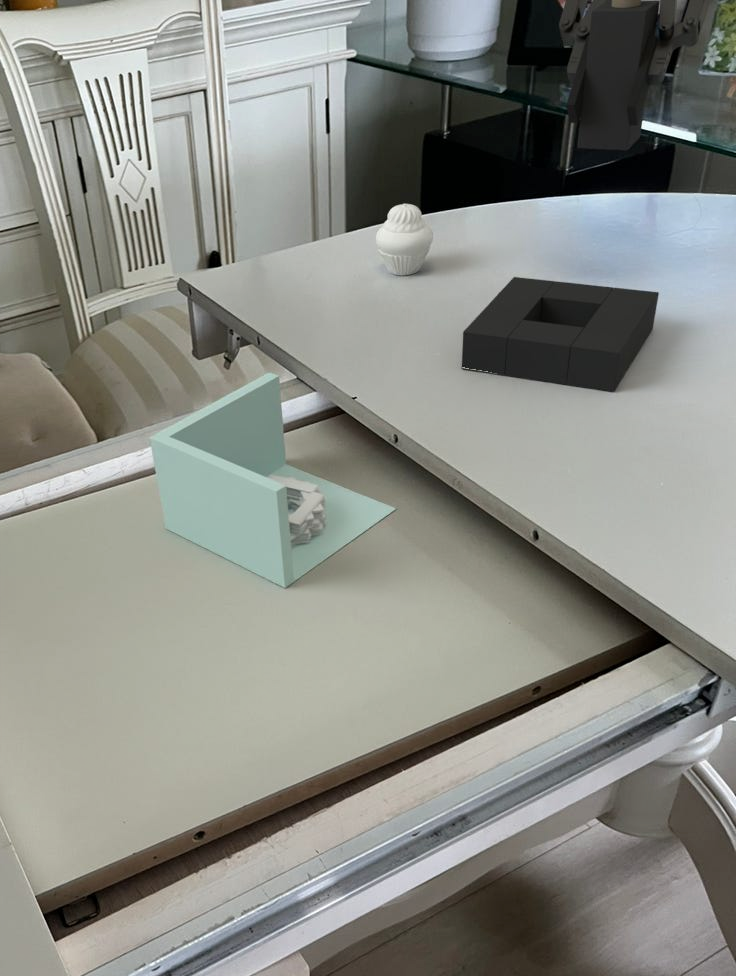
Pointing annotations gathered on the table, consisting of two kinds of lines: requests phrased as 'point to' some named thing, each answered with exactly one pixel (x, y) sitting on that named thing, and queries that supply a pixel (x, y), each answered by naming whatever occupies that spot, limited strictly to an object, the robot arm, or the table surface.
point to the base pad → (560, 332)
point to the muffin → (404, 240)
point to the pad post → (614, 72)
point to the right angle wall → (253, 488)
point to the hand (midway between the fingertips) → (601, 114)
